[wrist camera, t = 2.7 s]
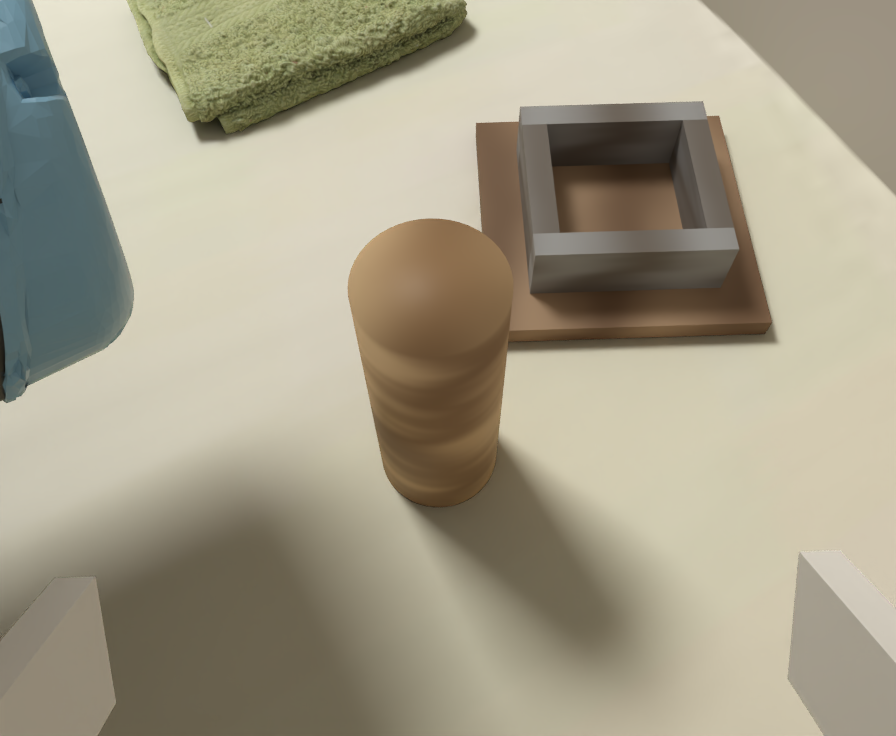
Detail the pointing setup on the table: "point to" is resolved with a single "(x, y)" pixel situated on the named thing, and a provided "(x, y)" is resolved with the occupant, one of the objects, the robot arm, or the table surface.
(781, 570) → the table surface
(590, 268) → the socket board
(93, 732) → the robot arm
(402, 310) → the oak pin
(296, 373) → the table surface
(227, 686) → the table surface
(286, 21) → the washcloth
